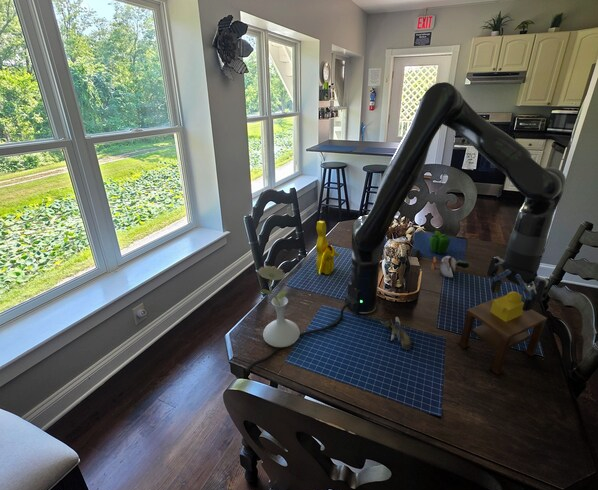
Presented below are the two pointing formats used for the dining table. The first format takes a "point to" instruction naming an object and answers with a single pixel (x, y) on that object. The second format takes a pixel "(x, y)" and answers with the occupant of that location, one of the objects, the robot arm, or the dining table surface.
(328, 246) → the figure statuette
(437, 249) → the bell pepper
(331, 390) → the dining table surface
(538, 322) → the wooden side table
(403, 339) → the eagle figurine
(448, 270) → the decorative duck model
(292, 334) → the flower in vase
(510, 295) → the rubber duck
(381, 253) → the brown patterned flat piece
